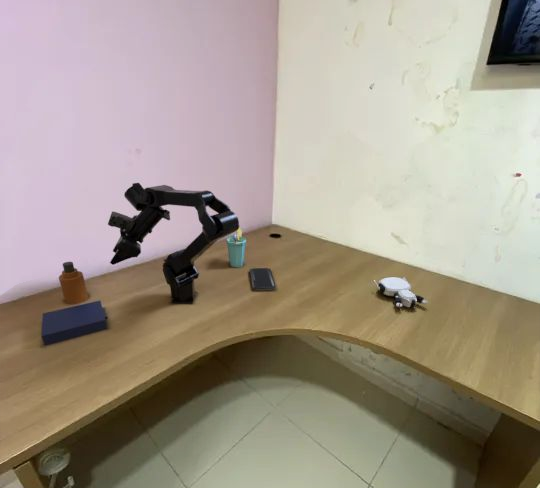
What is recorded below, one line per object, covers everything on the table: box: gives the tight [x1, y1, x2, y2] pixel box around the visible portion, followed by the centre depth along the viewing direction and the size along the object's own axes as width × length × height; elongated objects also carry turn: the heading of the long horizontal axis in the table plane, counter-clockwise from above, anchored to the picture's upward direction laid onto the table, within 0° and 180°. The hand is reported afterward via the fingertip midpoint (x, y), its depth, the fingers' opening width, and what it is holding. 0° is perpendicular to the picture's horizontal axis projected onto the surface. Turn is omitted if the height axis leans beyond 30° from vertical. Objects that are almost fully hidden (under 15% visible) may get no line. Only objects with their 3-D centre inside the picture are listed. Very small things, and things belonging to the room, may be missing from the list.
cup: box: [225, 227, 247, 268], centre depth 119 cm, size 14×8×15 cm, turn 1°
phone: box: [249, 267, 276, 292], centre depth 112 cm, size 8×1×15 cm
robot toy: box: [373, 276, 429, 308], centre depth 104 cm, size 12×4×15 cm
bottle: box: [58, 261, 89, 305], centre depth 94 cm, size 6×6×12 cm
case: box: [41, 300, 108, 346], centre depth 84 cm, size 15×11×3 cm
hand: (112, 257), depth 95 cm, fingers open, 9 cm apart
